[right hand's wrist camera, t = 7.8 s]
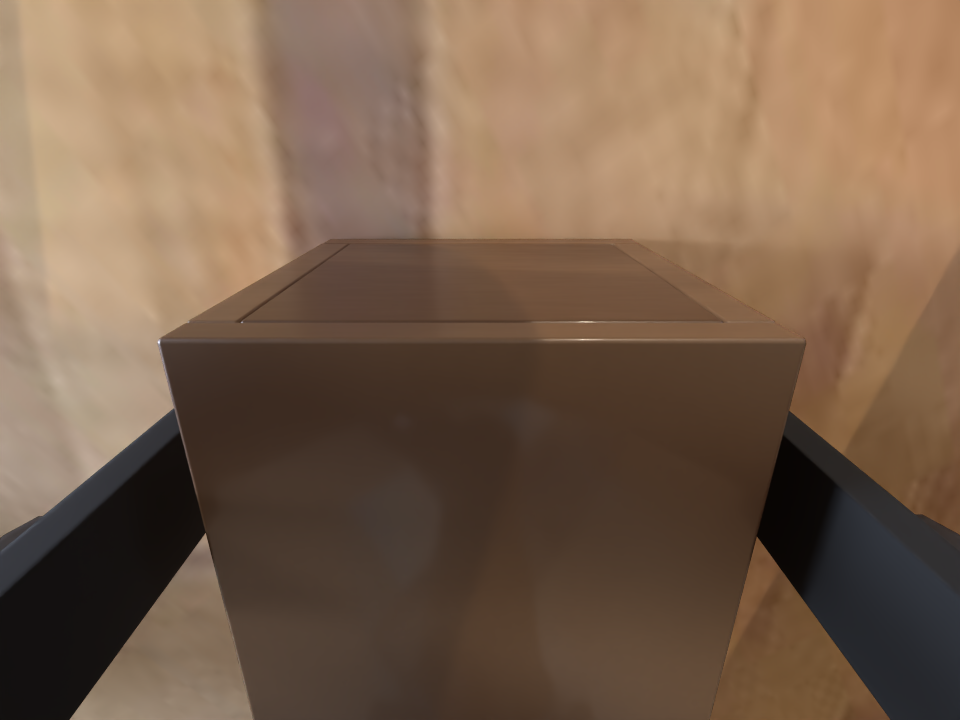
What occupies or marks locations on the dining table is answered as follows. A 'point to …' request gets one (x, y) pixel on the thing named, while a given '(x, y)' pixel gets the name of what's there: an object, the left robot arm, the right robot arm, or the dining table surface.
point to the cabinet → (481, 477)
